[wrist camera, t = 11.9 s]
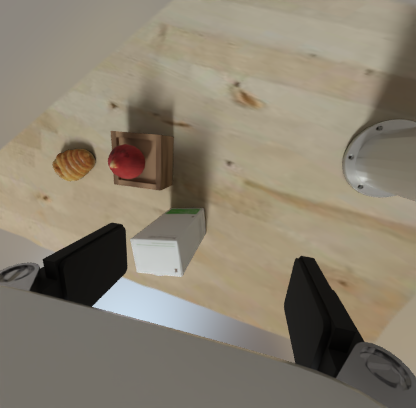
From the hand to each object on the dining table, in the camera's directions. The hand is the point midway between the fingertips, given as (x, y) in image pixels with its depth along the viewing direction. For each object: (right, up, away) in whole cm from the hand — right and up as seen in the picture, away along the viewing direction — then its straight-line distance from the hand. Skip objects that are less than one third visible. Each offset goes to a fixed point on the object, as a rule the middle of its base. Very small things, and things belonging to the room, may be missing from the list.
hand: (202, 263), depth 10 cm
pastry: (-31, +13, +36) cm, 49 cm away
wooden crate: (-12, +13, +31) cm, 36 cm away
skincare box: (-4, -1, +34) cm, 34 cm away
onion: (-13, +12, +27) cm, 32 cm away
